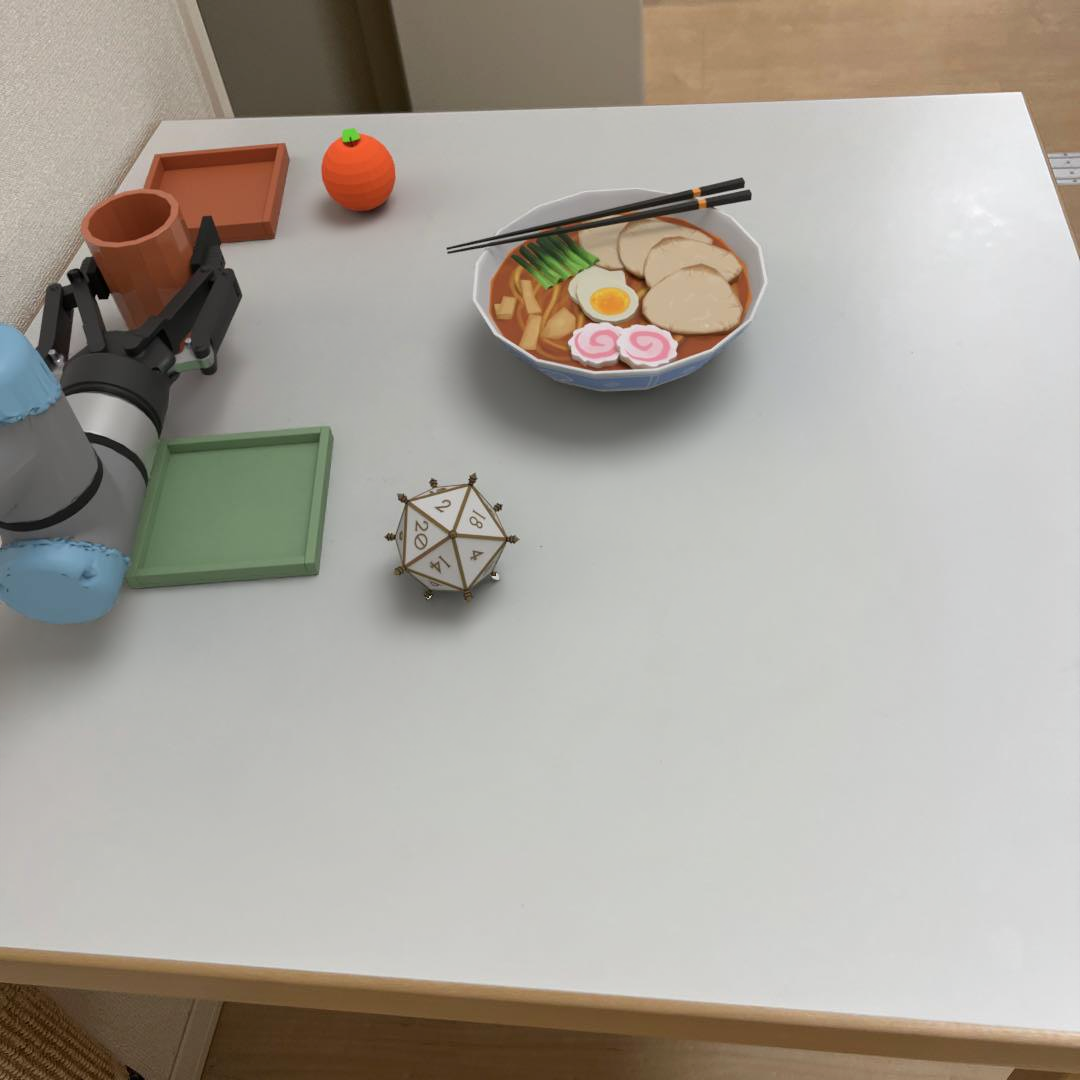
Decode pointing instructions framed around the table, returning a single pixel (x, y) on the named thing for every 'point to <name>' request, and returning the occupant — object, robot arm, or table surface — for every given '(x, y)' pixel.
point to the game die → (449, 537)
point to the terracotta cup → (140, 251)
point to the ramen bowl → (621, 284)
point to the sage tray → (233, 508)
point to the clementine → (358, 171)
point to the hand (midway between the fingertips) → (162, 233)
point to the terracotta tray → (226, 188)
